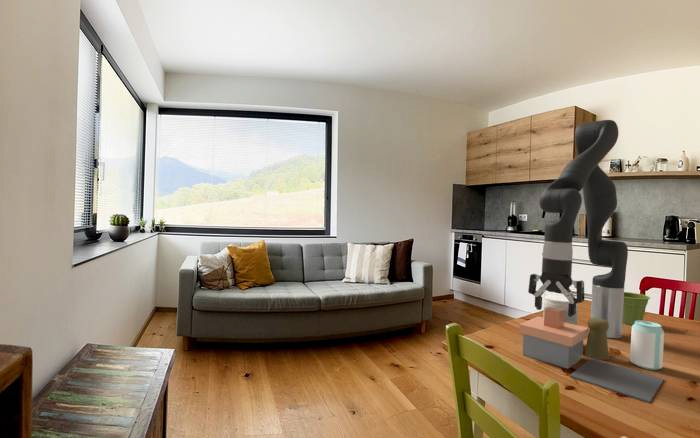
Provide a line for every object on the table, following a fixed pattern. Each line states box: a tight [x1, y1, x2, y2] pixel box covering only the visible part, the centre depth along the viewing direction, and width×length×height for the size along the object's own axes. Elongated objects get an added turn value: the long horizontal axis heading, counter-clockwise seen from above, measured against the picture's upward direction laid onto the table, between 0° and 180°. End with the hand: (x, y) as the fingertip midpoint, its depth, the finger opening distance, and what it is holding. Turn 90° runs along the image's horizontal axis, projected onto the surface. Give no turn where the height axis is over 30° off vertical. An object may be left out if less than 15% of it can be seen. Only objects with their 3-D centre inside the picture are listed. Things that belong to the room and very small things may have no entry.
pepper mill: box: [584, 317, 610, 361], centre depth 108 cm, size 6×6×11 cm
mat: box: [569, 357, 665, 404], centre depth 93 cm, size 18×16×1 cm
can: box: [629, 320, 665, 371], centre depth 102 cm, size 7×7×12 cm
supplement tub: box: [542, 294, 579, 325], centre depth 117 cm, size 10×10×15 cm
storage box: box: [522, 334, 584, 370], centre depth 106 cm, size 12×12×8 cm
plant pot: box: [623, 291, 651, 326], centre depth 143 cm, size 12×12×11 cm
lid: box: [518, 307, 590, 347], centre depth 106 cm, size 14×14×8 cm
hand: (554, 312), depth 106 cm, fingers open, 8 cm apart
